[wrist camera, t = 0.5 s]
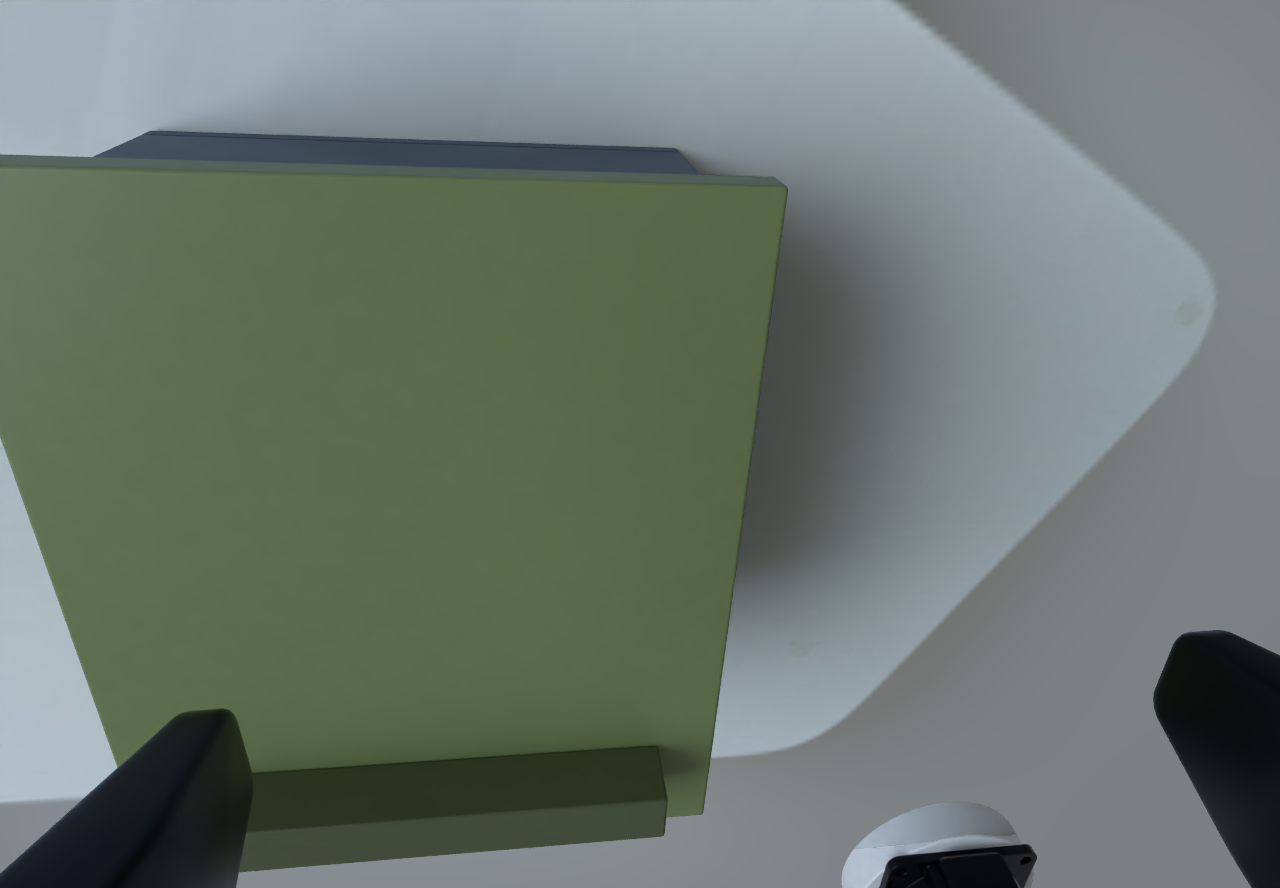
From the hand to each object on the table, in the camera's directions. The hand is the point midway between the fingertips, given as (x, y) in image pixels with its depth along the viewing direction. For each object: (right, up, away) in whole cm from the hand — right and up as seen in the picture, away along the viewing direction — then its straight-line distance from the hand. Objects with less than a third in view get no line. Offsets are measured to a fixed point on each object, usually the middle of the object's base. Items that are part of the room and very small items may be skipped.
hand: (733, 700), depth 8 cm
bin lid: (-5, 0, +9) cm, 10 cm away
